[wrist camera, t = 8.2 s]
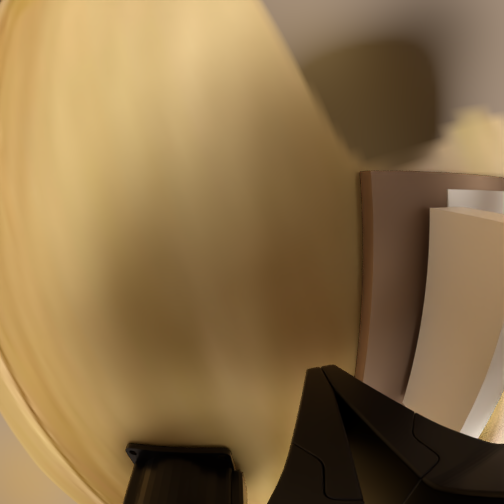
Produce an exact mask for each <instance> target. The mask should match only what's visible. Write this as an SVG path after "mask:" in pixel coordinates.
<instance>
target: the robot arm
mask: <svg viewBox="0 0 504 504" xmlns="http://www.w3.org/2000/svg"><path fill="white" fill-rule="evenodd" d="M126 453H127V454H128V456H129V457H130V459H131V460H132V462H133V463H134V468H133V471H132V474H131V478H130V481H129V484H128V488H127V491H126V494H125V498H124V501H123V504H247V487H246V483H245V480H244V476H243V472H241V471H240V470H236V468H235V465H234V461H233V458H232V454H231V451H230V450H228V449H226V448H179V447H161V446H149V445H139V444H128V445H127V447H126ZM267 504H504V444H495V443H490V442H486V441H483V440H480V439H477V438H474V437H471V436H469V435H466V434H463V433H460V432H457V431H455V430H452V429H450V428H447V427H445V426H442V425H440V424H438V423H436V422H434V421H432V420H430V419H428V418H426V417H424V416H422V415H420V414H418V413H414V411H413V410H411V409H409V408H407V407H405V406H404V405H402V404H400V403H398V402H396V401H395V400H393V399H391V398H389V397H388V396H386V395H384V394H382V393H381V392H379V391H377V390H376V389H374V388H372V387H370V386H369V385H367V384H365V383H364V382H362V381H360V380H359V379H357V378H355V377H354V376H352V375H350V374H349V373H347V372H345V371H344V370H342V369H341V368H339V367H337V366H336V365H327V366H322V367H321V368H320V367H315V368H309V369H307V371H306V376H305V381H304V386H303V391H302V396H301V401H300V406H299V411H298V415H297V420H296V424H295V429H294V433H293V437H292V441H291V445H290V449H289V453H288V457H287V460H286V463H285V466H284V469H283V472H282V474H281V476H280V479H279V481H278V483H277V486H276V488H275V490H274V492H273V493H272V495H271V497H270V499H269V501H268V503H267Z"/></svg>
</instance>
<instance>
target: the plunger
mask: <svg viewBox="0 0 504 504" xmlns="http://www.w3.org/2000/svg"><path fill="white" fill-rule="evenodd" d="M503 391H504V214H500V213H495V212H489V211H484V210H478V209H473V208H467V207H441V208H430V231H429V255H428V269H427V281H426V290H425V298H424V306H423V313H422V319H421V326H420V331H419V337H418V342H417V347H416V352H415V357H414V361H413V365H412V370H411V374H410V378H409V381H408V385H407V389H406V393H405V396H404V399H403V404H404V405H405V407H407V408H409V409H411V410H413V411H414V413H418V414H420V415H422V416H424V417H426V418H428V419H430V420H432V421H434V422H436V423H438V424H440V425H442V426H445V427H447V428H450V429H452V430H455V431H457V432H460V433H463V434H466V435H469V436H471V437H474V438H477V439H478V437H479V436H480V434H481V432H482V431H483V429H484V427H485V426H486V424H487V422H488V420H489V418H490V417H491V415H492V413H493V411H494V409H495V407H496V405H497V403H498V401H499V399H500V397H501V395H502V393H503Z"/></svg>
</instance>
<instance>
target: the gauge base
mask: <svg viewBox="0 0 504 504" xmlns="http://www.w3.org/2000/svg"><path fill="white" fill-rule="evenodd" d="M360 180H361V196H362V220H363V280H362V304H361V321H360V334H359V345H358V355H357V364H356V372H355V378H357V379H359V380H360V381H362V382H364V383H365V384H367V385H369V386H370V387H372V388H374V389H376V390H377V391H379V392H381V393H382V394H384V395H386V396H388V397H389V398H391V399H393V400H395V401H396V402H398V403H400V404H402V405H404V404H403V399H404V396H405V393H406V389H407V385H408V381H409V378H410V374H411V370H412V365H413V361H414V357H415V352H416V347H417V342H418V337H419V331H420V326H421V319H422V313H423V306H424V298H425V290H426V281H427V269H428V255H429V231H430V208H441V207H467V208H473V209H478V210H484V211H489V212H495V213H500V214H504V178H502V177H493V176H483V175H471V174H458V173H442V172H420V171H362V172H360ZM404 406H405V405H404Z"/></svg>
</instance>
